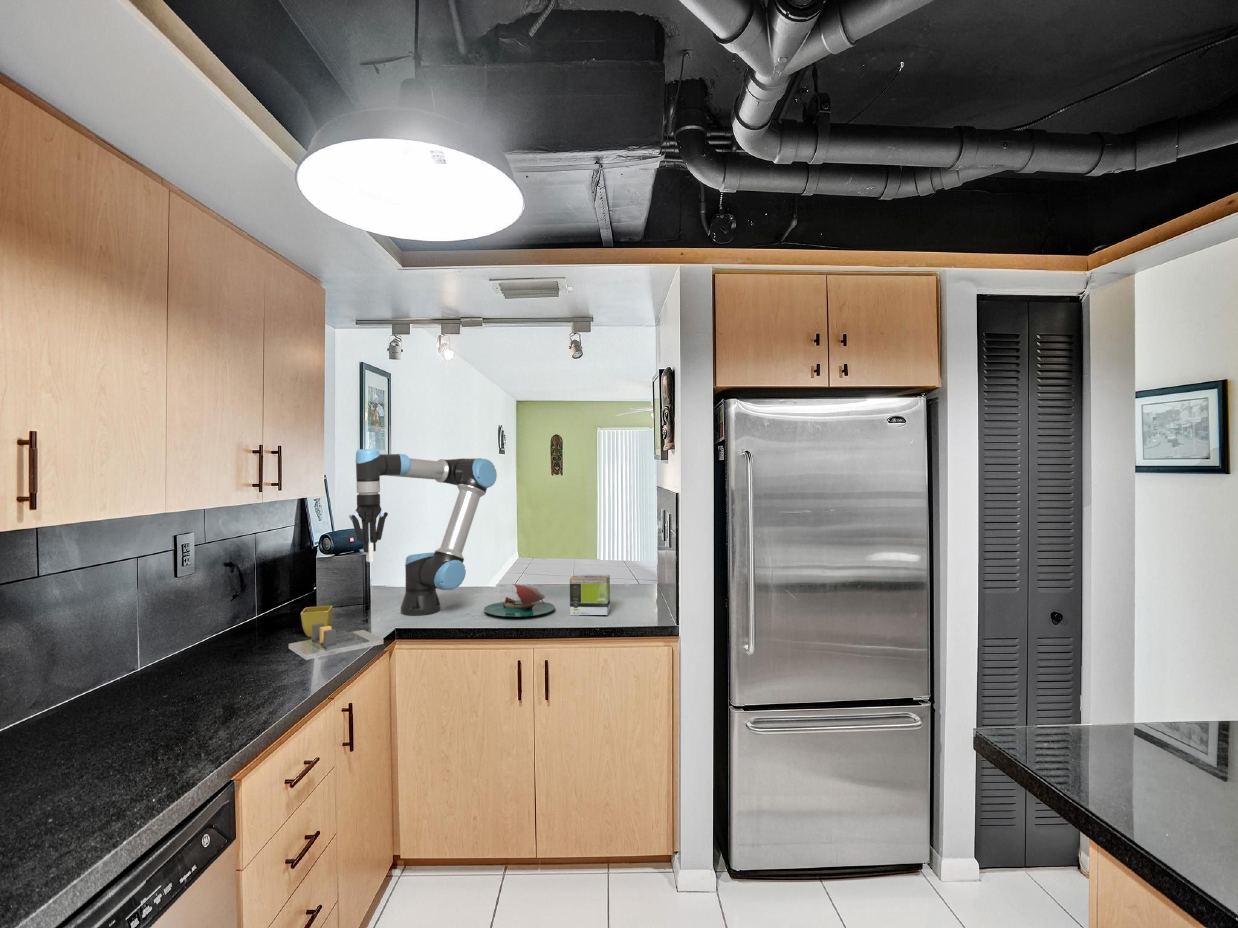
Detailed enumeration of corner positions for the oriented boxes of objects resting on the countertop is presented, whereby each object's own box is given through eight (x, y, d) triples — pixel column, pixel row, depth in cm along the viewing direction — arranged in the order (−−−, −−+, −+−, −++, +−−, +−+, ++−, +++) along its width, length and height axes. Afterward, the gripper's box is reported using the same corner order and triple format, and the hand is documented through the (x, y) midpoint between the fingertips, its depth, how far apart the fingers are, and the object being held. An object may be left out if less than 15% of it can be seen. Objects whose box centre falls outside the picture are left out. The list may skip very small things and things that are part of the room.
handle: (333, 644, 199) (333, 628, 199) (335, 646, 198) (335, 630, 198) (323, 646, 197) (323, 630, 197) (325, 647, 196) (325, 632, 196)
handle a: (321, 638, 207) (321, 623, 207) (324, 639, 205) (324, 624, 205) (312, 639, 204) (312, 624, 204) (314, 641, 203) (314, 625, 203)
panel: (363, 633, 218) (363, 626, 218) (383, 643, 207) (383, 636, 207) (288, 648, 201) (288, 640, 201) (305, 659, 190) (305, 651, 190)
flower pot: (300, 639, 212) (300, 612, 211) (305, 632, 220) (305, 606, 220) (328, 637, 214) (328, 611, 214) (332, 630, 222) (332, 605, 222)
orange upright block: (329, 641, 203) (329, 625, 203) (331, 642, 202) (331, 626, 202) (319, 642, 201) (319, 627, 201) (321, 644, 200) (321, 628, 200)
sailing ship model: (538, 623, 234) (538, 593, 234) (470, 617, 241) (470, 588, 241) (564, 606, 261) (565, 579, 261) (503, 602, 268) (503, 576, 268)
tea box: (610, 610, 254) (610, 574, 254) (607, 617, 244) (607, 578, 244) (573, 609, 255) (573, 573, 255) (569, 615, 245) (569, 578, 245)
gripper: (381, 491, 225) (383, 557, 225) (344, 494, 215) (346, 562, 216) (391, 492, 219) (392, 560, 220) (353, 495, 210) (355, 565, 211)
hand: (369, 561), depth 218 cm, fingers closed
